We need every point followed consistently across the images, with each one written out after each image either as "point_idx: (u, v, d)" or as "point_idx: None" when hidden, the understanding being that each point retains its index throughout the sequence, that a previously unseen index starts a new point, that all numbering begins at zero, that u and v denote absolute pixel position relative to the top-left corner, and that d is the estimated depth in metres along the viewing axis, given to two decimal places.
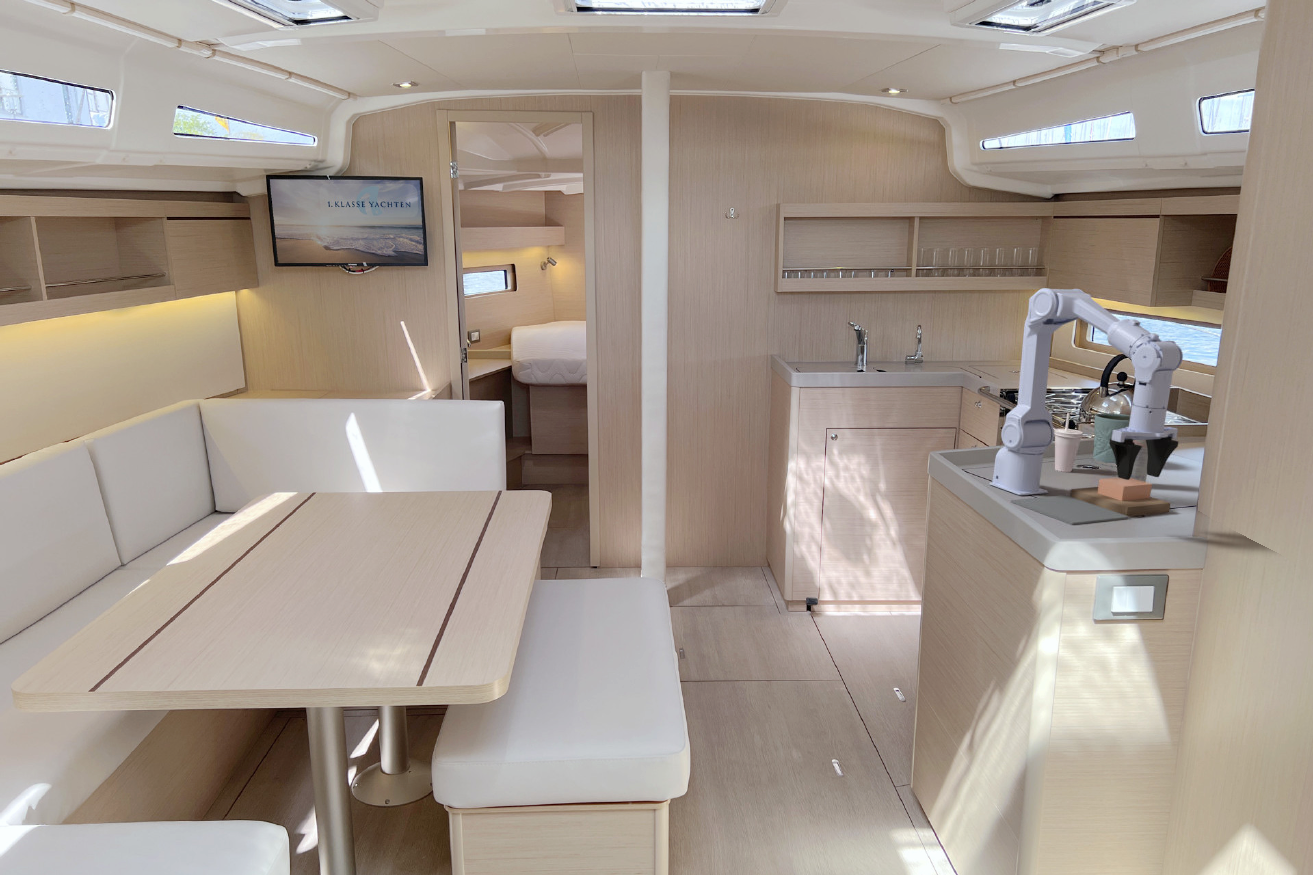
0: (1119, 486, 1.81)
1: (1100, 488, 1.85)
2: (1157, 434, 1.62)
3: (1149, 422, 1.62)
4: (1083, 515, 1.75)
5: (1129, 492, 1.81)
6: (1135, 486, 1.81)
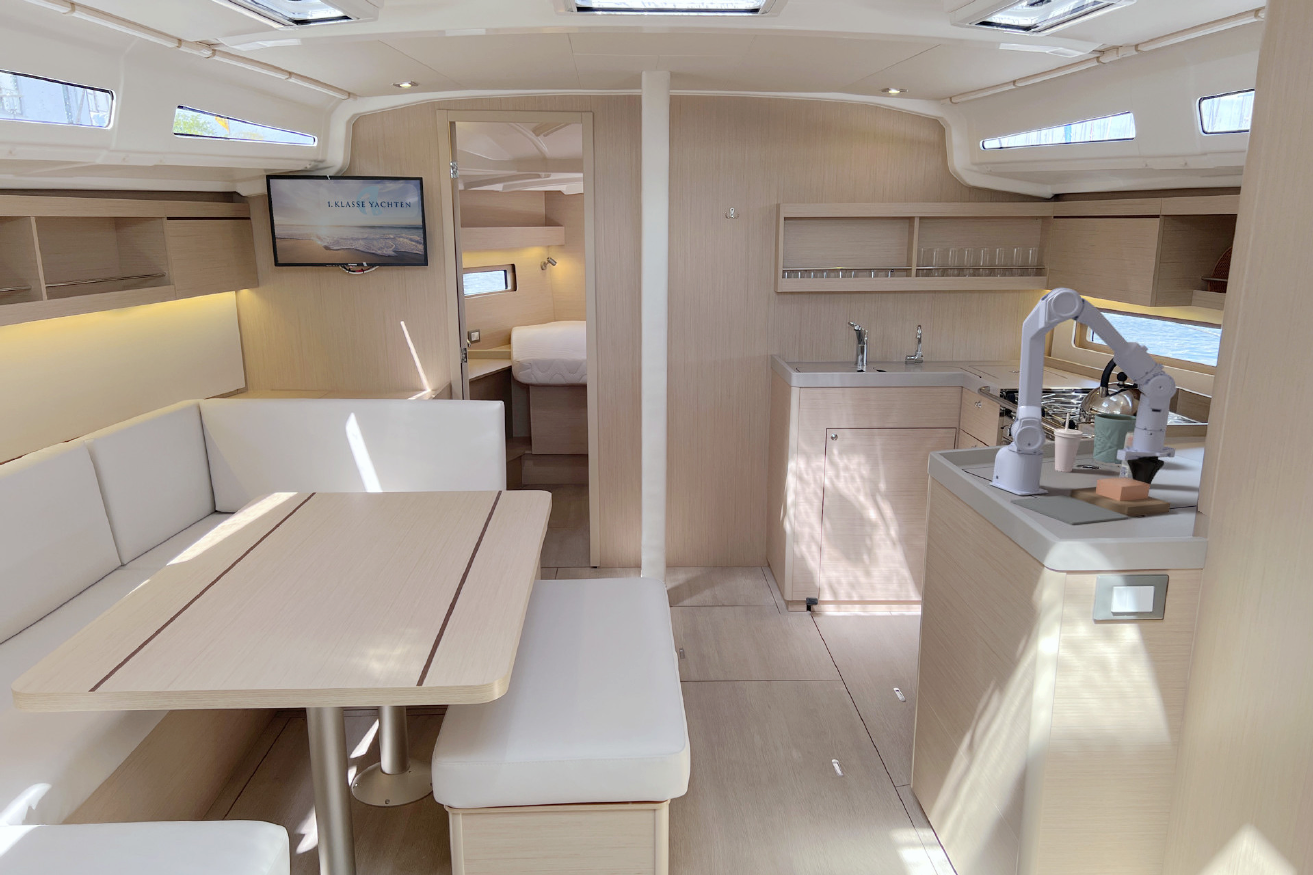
0: (1117, 486, 1.81)
1: (1098, 488, 1.85)
2: (1157, 454, 1.81)
3: (1150, 443, 1.82)
4: (1083, 515, 1.75)
5: (1127, 492, 1.81)
6: (1133, 486, 1.81)
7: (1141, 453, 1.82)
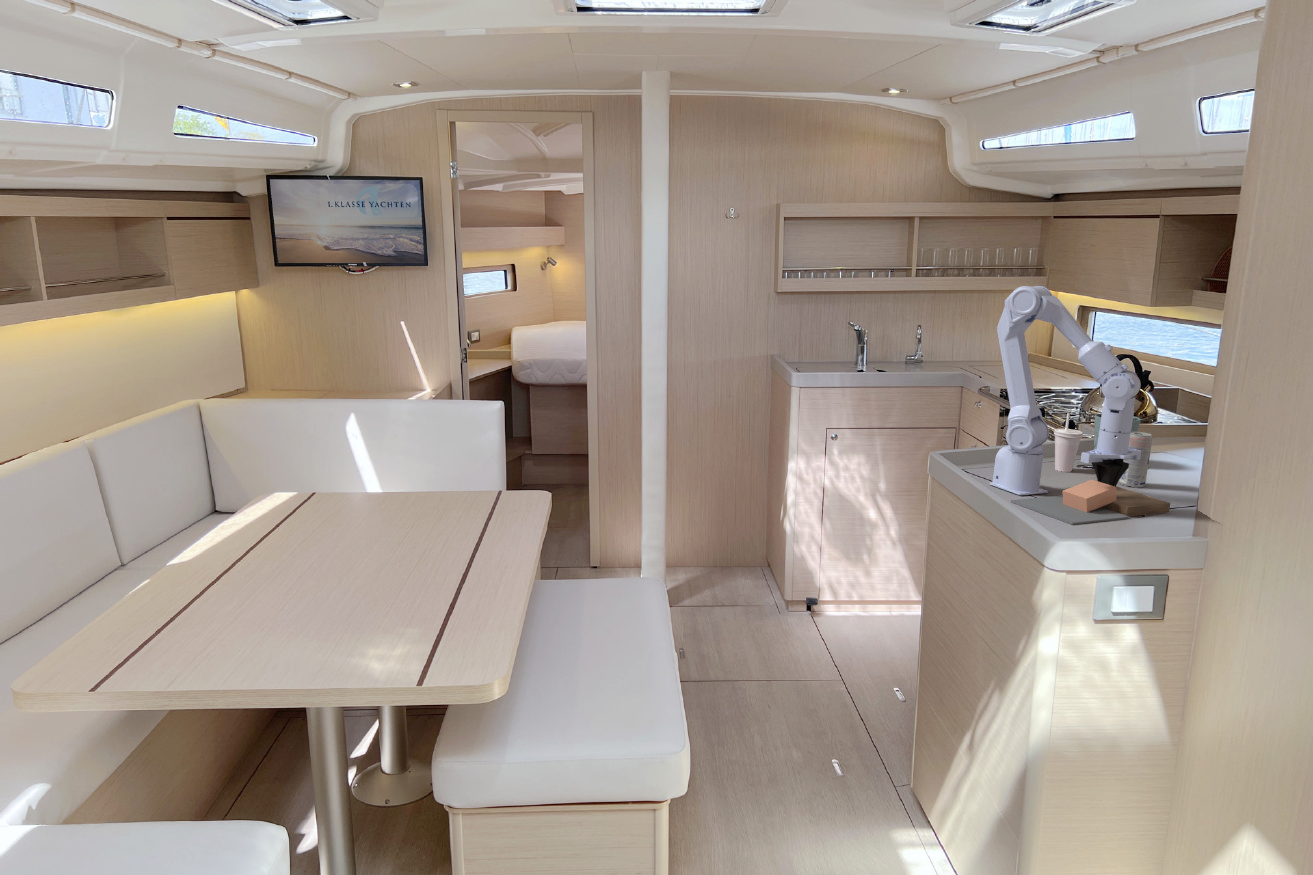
0: (1082, 498, 1.77)
1: (1065, 499, 1.82)
2: (1121, 456, 1.78)
3: (1114, 445, 1.78)
4: (1083, 515, 1.75)
5: (1093, 501, 1.77)
6: (1098, 494, 1.77)
7: (1105, 456, 1.78)
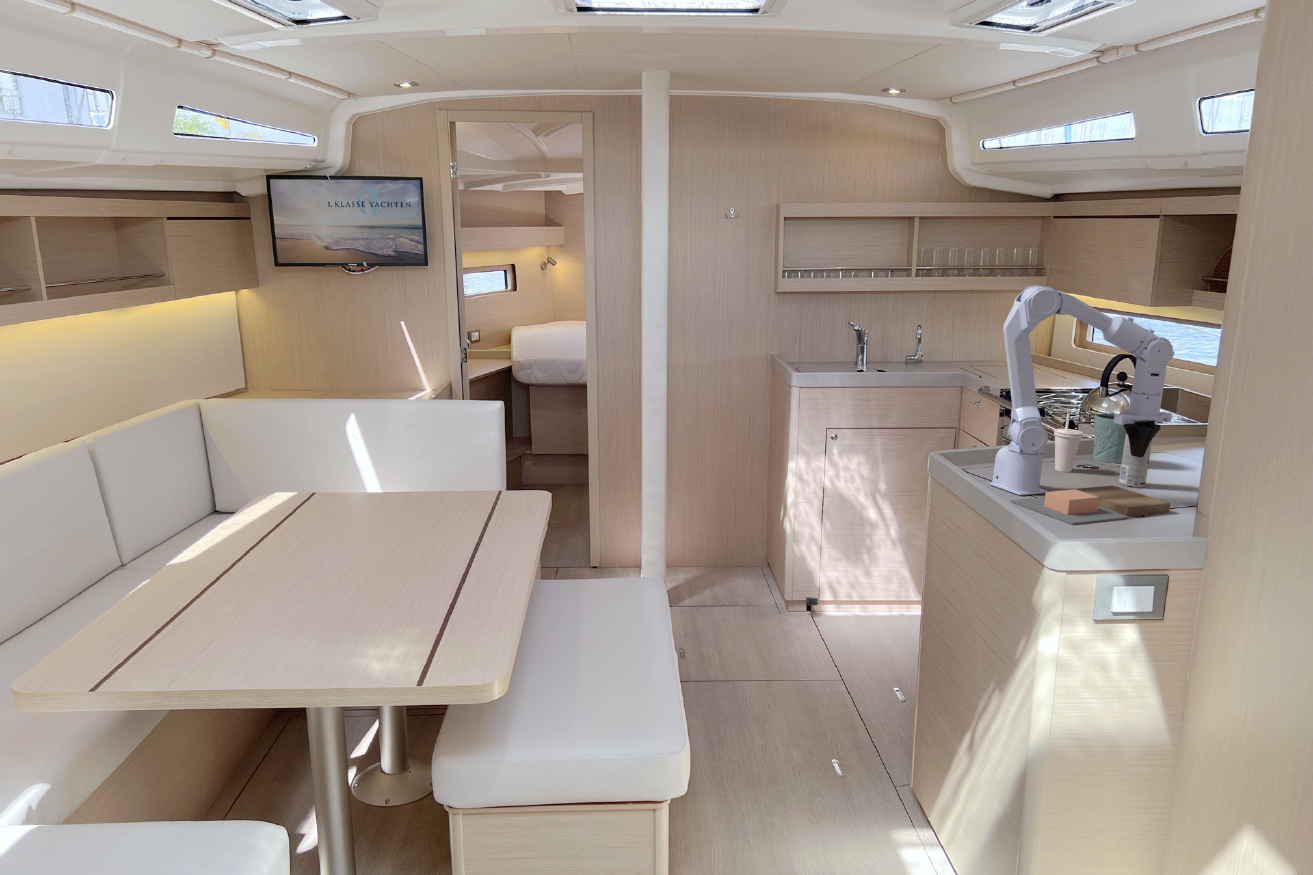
0: (1065, 499, 1.75)
1: (1046, 501, 1.80)
2: (1153, 417, 1.83)
3: (1146, 407, 1.83)
4: (1083, 515, 1.75)
5: (1075, 505, 1.75)
6: (1081, 499, 1.76)
7: (1138, 417, 1.83)
